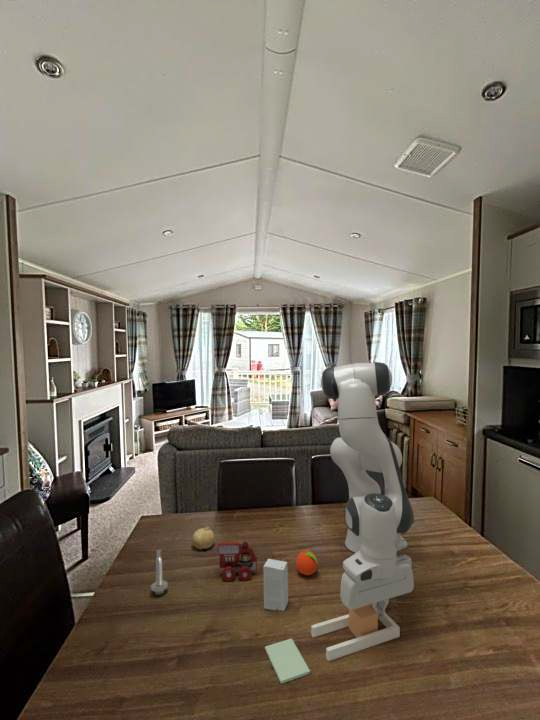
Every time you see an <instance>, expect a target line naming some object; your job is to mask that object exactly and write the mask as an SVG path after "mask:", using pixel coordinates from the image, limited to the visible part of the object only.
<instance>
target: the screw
mask: <svg viewBox="0 0 540 720" xmlns="http://www.w3.org/2000/svg"><path fill="white" fill-rule="evenodd" d="M155 559H156V560H155V571H156V572H155V581H154V582H153V583H152V584H151V585H150V590H151V591H152V592H154V594H155V595H157V596H160V595H162V594H164V593H165V590H166V589H167V588H168V586H169V583H168V581H166V580H164V579H163V557H162V549H156V558H155Z"/></svg>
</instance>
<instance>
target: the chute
mask: <svg viewBox="0 0 540 720" xmlns="http://www.w3.org/2000/svg"><path fill="white" fill-rule="evenodd" d="M378 621H380V622H381V623H382V624H383V625H384V626H385V628H383V629H380V630H379V629H378V631H376V632H373V633H370V634H367V635H364V636H361V637H358V638H356V637H355V638H352V639H350V640H349V639H348V640H345V641H343V642H340V643H337V644H334V645H331V646H328V647H326V648H325V658H326V660H327V662H331V661H333V660H336V659H339V658H342V657H344V656H345V657H346V656H347V655H351V654H354V653H356V652H359V651H362V650H365V649H368V648H371V647H375V646H376V645H380V644H383V643H385V642H388V641H391V640H394V639H397V638H400V635H401V633H400V632H401V630H400V629H401V628H400V626H399V625H398V624H397V623H396V622H395V621H394V620H393V619H392V618H391V617H390V616H389V615H388V613H386V612H385V615H383V616H380V617H378ZM310 627H311V629H310V631H311V632H310V633H311V634H310V635H311V636H312V638H317V637H320V636H323V635H325V634H329V633H332V632H335V631H338V630H341V629H344V628H347V627H348V628H349V613H348V614H344V615H341V616H338V617H335V618H331V619H329V620H325V621H322V622H318V623H315V624H312V625H311V626H310Z"/></svg>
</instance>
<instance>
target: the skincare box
mask: <svg viewBox="0 0 540 720" xmlns="http://www.w3.org/2000/svg"><path fill="white" fill-rule="evenodd" d="M288 565H289V564H288V561H284V560H277V559H271V558H267V560H266V561H265V563H264V565H263V567H262V568H263V573H262V574H263V609H266V610H270V611H273V612H274V611H275V612H276V611H277V610H278V611H282V612H284V611H285V610H286V608H287V605H288V603H289V578H288V577H289V575H288V573H289V572H288V571H289V570H288Z"/></svg>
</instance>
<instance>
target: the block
mask: <svg viewBox="0 0 540 720" xmlns="http://www.w3.org/2000/svg"><path fill="white" fill-rule="evenodd" d="M348 614H349V626H348V629H349V631H350V632H351V633H352V634H353V636H354V637H355V638H358V637H361V636H364V635H367V634H370V633H373V632H376V631H379V619H378V613H377V612H376V611H375V610H374V609H373V608H372V607H371V606H370V605H366V606H363V607H360V608H356V609H353V610H349V609H348Z"/></svg>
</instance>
